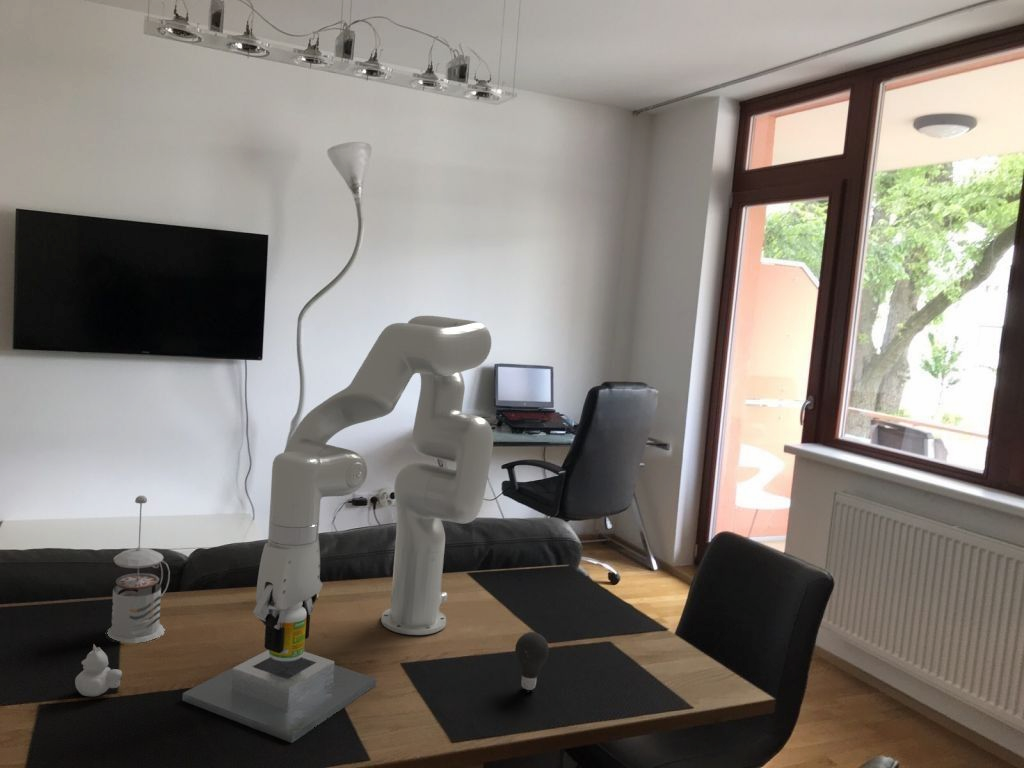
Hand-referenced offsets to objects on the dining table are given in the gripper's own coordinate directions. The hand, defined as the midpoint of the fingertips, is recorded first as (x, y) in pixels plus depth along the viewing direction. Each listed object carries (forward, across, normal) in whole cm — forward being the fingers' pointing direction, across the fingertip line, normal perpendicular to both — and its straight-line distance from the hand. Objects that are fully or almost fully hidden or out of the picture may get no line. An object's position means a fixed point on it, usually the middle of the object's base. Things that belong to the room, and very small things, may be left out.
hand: (286, 642), depth 133 cm
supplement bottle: (+2, 0, 0) cm, 2 cm away
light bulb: (+9, -24, +32) cm, 41 cm away
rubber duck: (+8, +16, -22) cm, 29 cm away
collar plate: (+8, 0, 0) cm, 8 cm away
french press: (+9, -3, -35) cm, 36 cm away
